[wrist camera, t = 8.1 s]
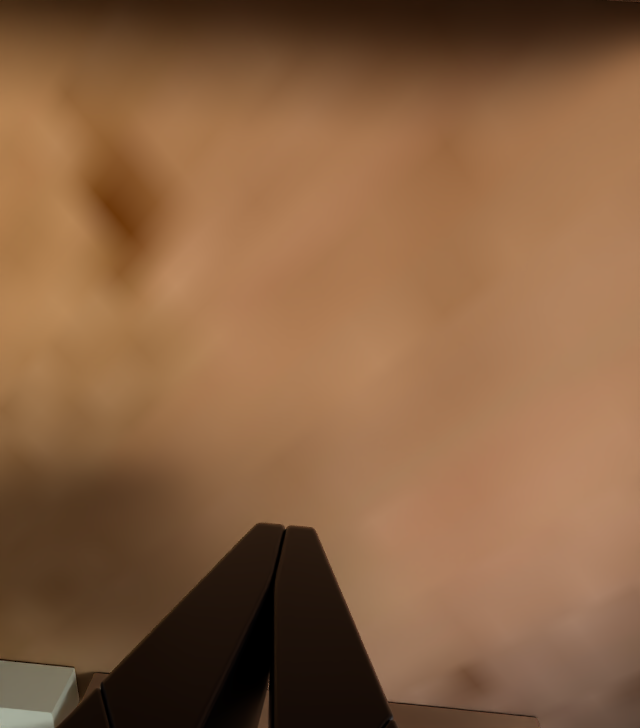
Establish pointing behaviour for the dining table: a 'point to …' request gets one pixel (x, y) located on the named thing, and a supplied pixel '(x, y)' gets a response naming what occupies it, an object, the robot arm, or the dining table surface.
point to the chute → (414, 722)
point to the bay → (36, 694)
